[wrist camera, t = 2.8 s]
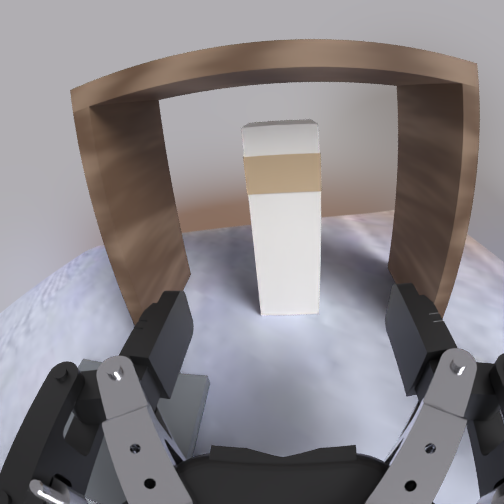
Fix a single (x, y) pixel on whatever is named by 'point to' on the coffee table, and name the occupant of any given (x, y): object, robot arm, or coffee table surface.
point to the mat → (177, 419)
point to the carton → (285, 213)
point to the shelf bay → (266, 72)
